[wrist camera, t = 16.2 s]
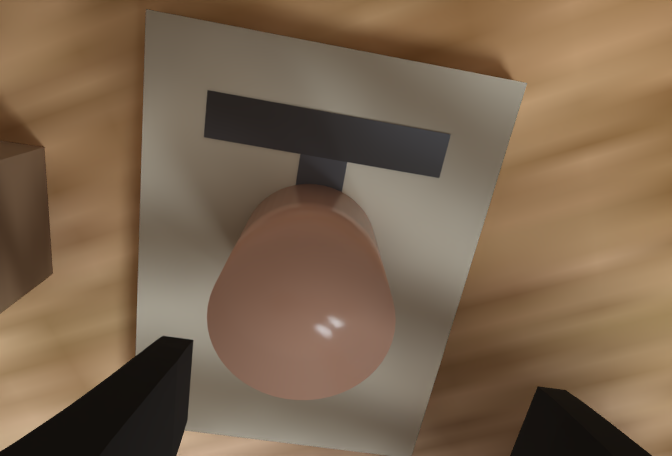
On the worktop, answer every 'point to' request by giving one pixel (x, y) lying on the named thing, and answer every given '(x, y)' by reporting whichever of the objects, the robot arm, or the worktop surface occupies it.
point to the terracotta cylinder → (303, 297)
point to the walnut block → (23, 221)
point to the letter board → (322, 169)
